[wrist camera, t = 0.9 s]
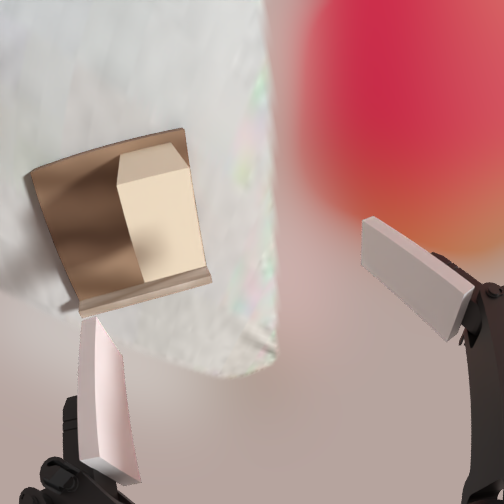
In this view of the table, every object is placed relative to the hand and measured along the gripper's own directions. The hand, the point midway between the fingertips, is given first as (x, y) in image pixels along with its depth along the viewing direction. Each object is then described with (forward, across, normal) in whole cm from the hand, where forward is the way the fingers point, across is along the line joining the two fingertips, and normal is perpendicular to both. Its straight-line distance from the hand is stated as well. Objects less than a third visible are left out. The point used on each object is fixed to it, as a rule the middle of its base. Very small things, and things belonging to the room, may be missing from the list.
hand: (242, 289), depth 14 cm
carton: (+20, -3, 0) cm, 20 cm away
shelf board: (+21, -7, -3) cm, 23 cm away
